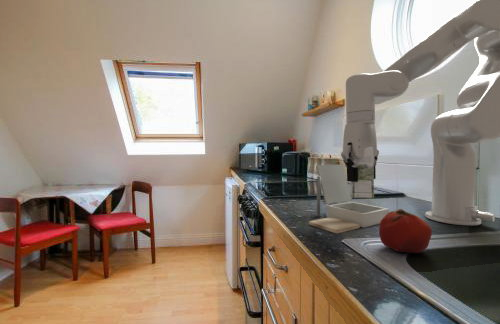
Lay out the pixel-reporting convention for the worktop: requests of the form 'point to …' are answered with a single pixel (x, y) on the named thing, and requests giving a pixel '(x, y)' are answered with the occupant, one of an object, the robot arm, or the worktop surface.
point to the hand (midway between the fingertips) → (361, 179)
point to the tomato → (404, 232)
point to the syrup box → (364, 176)
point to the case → (353, 211)
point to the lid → (334, 183)
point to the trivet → (334, 225)
